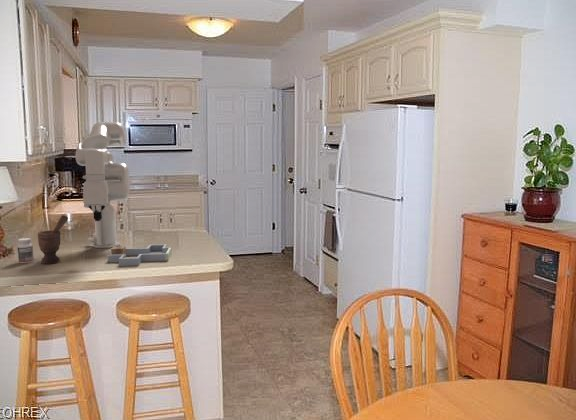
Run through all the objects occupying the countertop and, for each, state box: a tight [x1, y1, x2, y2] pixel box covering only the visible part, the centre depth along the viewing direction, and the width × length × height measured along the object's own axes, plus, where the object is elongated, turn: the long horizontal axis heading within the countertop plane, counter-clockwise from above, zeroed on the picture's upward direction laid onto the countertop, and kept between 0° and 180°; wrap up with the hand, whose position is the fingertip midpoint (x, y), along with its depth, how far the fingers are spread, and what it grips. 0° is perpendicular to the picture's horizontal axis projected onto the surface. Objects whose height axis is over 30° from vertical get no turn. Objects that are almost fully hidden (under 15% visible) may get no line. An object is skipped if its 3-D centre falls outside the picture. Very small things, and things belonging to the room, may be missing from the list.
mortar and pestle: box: [37, 214, 69, 265], centre depth 214 cm, size 12×9×20 cm
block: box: [110, 245, 127, 258], centre depth 221 cm, size 5×5×5 cm
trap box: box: [107, 244, 173, 267], centre depth 222 cm, size 25×27×3 cm
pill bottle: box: [17, 237, 35, 264], centre depth 215 cm, size 6×6×10 cm
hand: (97, 220), depth 218 cm, fingers closed
